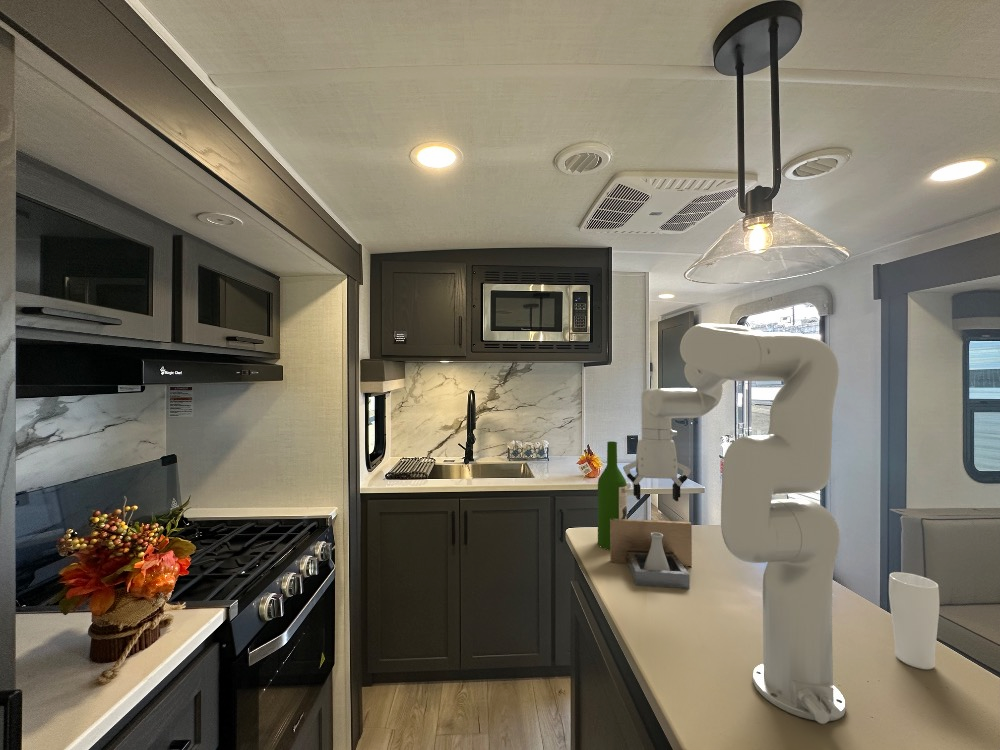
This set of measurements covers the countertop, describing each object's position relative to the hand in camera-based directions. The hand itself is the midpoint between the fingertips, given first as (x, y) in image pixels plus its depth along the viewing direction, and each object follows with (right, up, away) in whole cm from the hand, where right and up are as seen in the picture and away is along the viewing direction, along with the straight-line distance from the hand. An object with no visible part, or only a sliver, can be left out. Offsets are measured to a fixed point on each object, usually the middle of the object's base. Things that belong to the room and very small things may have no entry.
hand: (656, 499), depth 117 cm
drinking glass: (+35, -20, -36) cm, 54 cm away
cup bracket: (0, -20, +1) cm, 20 cm away
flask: (0, -19, -1) cm, 19 cm away
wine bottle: (-6, -21, +22) cm, 31 cm away
